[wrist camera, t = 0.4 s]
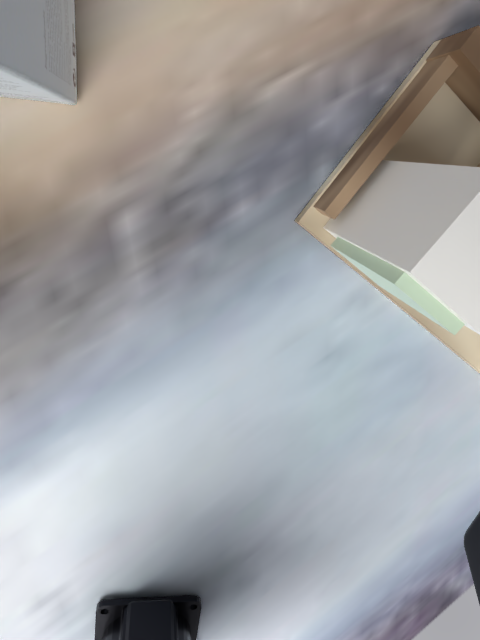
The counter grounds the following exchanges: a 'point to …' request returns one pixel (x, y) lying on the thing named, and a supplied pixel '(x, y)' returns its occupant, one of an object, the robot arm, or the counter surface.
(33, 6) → the skincare box
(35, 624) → the counter surface
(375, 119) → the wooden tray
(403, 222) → the white rectangular block
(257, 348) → the counter surface
